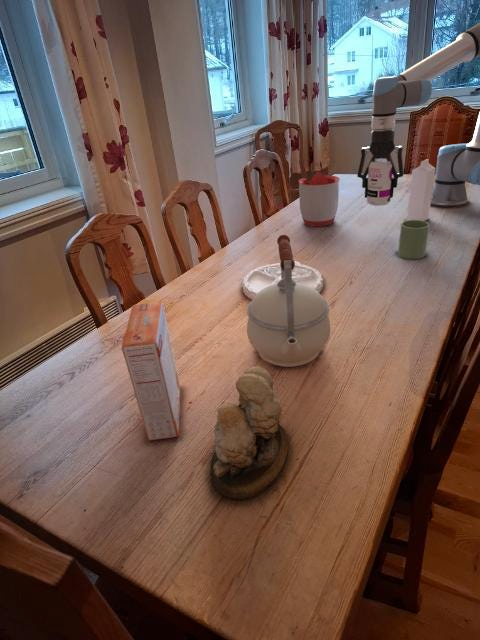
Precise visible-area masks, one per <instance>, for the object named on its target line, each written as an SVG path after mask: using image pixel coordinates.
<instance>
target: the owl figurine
mask: <svg viewBox="0 0 480 640" xmlns="http://www.w3.org/2000/svg"><path fill="white" fill-rule="evenodd" d="M235 389H236V391H237V393H238V394H239V396H238V404H235V403H230V402H228V403H224V404H221V405H220V406H219V408H217V414H216V422H215V425H214V429H213V434H214V436H215V437H214V445H215V447H214V452H213V455H212V457H211V463H210V470H209V471H210V473H209V474H210V481H211V482H212V484H213V486H214V487H213V488H214V489H215V491H216V492H217V493H218V494H219V495H221V496H223V497H225V498H226V499H230V500H232V501H248V500H252V499H255V498H256V497H258V496H260V495H261V494H263V493H264V492H266V491H267V490H268V489H269V488H270V487H271V486H272V485H273V484H274V483H275V481H277V480H278V478H279V476H281V473H282V471H283V470H284V467H285V464H286V462H287V459H288V454H289V445H290V444H289V438H288V435H287V432H286V430H285V428H284V427H283V426H282V425H281V420H280V419H281V417H282V407H281V401H280V399H279V396H278V392H277V390H276V389H275V388H274V380H273V378H272V376H271V374H270V373H269V372H268V371H267V370H266V369H265V368H264V367H262V366H259V365H258V366H257V365H253V366H250V367H248V368H246V369H245V370H244V371H243V373H242V374H241V375H240V376H238V379H237V380H236V382H235Z"/></svg>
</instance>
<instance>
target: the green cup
mask: <svg viewBox="0 0 480 640" xmlns="http://www.w3.org/2000/svg"><path fill="white" fill-rule="evenodd" d="M429 232H430V222H428V221H427V220H425V221H421V220H404V221H402V222H401V223H400V231H399V239H398V248H397V255H398V256H399V257H400V258H403V259H407V260H420V259H423V258H424V257H425V256H426V253H427V247H428V242H429V241H428V240H429Z"/></svg>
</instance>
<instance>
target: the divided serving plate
mask: <svg viewBox="0 0 480 640" xmlns="http://www.w3.org/2000/svg"><path fill="white" fill-rule="evenodd" d="M293 261H294V263H295V267H294V269H293V270H292V280H293V281H294V282H296V283H301V284H305V285H308V286H310V287H312V288H314V289H315V290H316V291H318V292H319V294H320V293H321V292H322V290H323V287H324V280H323V274H322V273H320V272H319V270H318V269H315V268H314V267H313V266H309V265H307V264H301V262H300V261H297V260H293ZM280 263H281V262H280ZM280 263H279V262H276V263H271V264H270V263H269V264H266V265H263V266H262V265H261V266H259V267H257V268H254V269H251V271H250V272H247V273H246V275H245V276H244V277H243V278H242V279H243V281H242V291H243V294H244V295H245V296H246V297H247V298H249V299H250V300H251V301H252V300H253V298H254V297H255V296H256V294H257V293H258V292H259V291H261V290H262V289H264V288H266V287H268V286H270V285H273V284H277V283H278V282H279V281H280V280H281V266H280Z"/></svg>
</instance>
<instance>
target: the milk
mask: <svg viewBox="0 0 480 640" xmlns="http://www.w3.org/2000/svg"><path fill="white" fill-rule="evenodd" d="M429 160H430V159H429V158H427V159H424V160H422V161H420V165H419V166H417V167H416V168H414V169H412V170H411V177H410V184H409V193H408V203H407V213H406V221H408V220H421V221H427V220H429V218H430V210H431V205H430V204H431V197H432V190H433V185H434V182H435V174H436V167H434V166H433V165H432V164H431V163H430V161H429Z"/></svg>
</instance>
